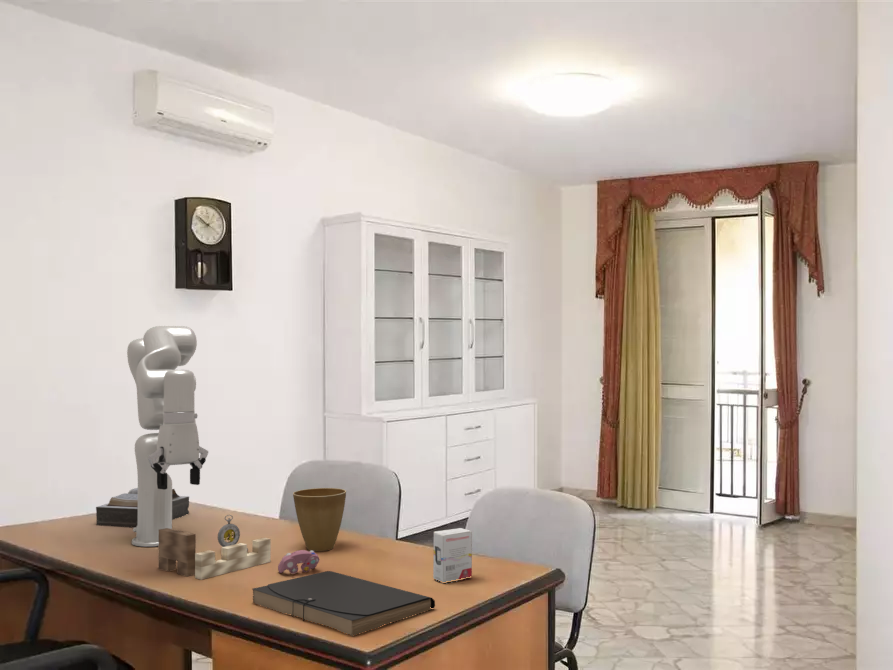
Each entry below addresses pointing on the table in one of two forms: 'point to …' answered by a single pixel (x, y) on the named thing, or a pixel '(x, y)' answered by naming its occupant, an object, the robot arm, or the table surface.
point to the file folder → (341, 601)
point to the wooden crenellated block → (232, 558)
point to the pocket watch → (228, 534)
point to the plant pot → (319, 516)
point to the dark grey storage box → (133, 509)
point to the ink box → (452, 554)
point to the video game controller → (298, 561)
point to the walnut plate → (177, 551)
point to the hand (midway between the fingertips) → (178, 486)
